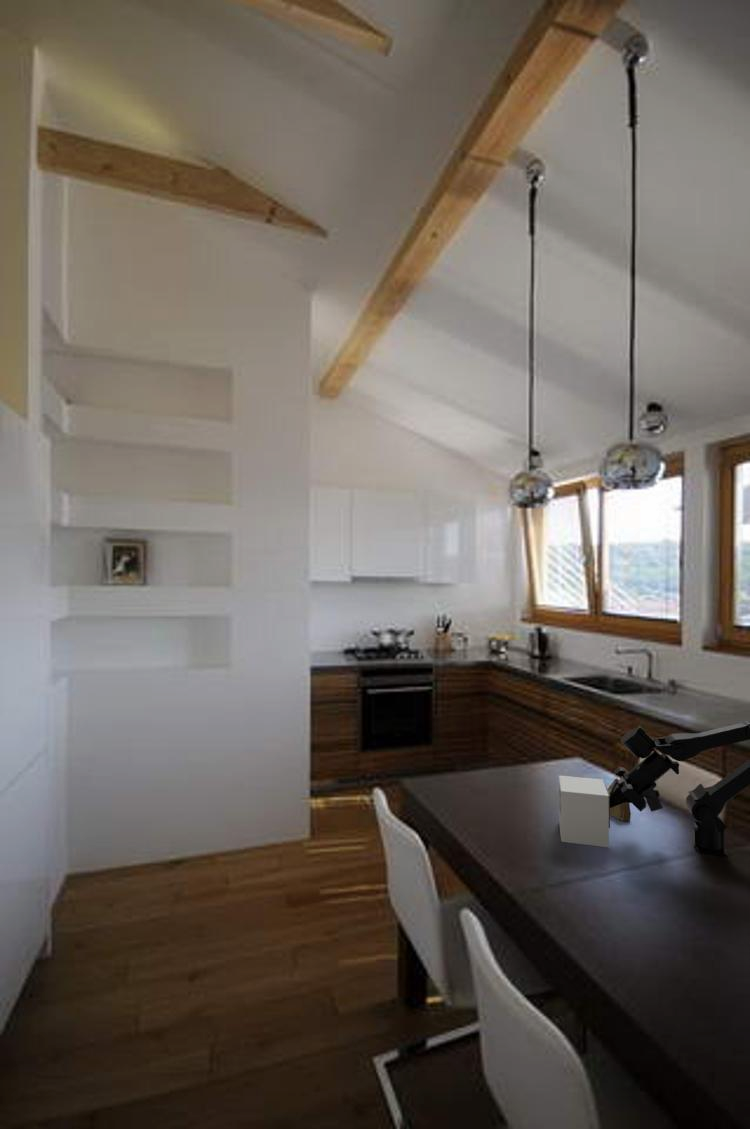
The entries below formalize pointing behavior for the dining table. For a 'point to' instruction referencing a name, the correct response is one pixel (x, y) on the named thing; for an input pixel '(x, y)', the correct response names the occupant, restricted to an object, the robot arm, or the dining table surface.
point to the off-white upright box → (584, 811)
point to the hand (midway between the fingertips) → (606, 807)
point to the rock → (620, 809)
